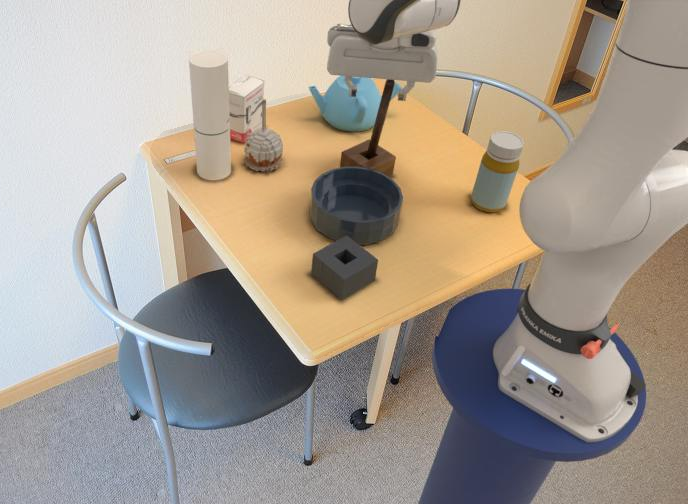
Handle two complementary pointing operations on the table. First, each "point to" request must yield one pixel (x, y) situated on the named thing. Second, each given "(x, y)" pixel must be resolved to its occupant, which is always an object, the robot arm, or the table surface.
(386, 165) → the holder
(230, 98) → the ink box
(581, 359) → the robot arm
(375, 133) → the stick
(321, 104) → the teapot
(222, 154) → the cylindrical container
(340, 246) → the stand
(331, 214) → the bowl
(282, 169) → the table surface
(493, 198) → the bottle
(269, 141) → the grey round-headed piece
